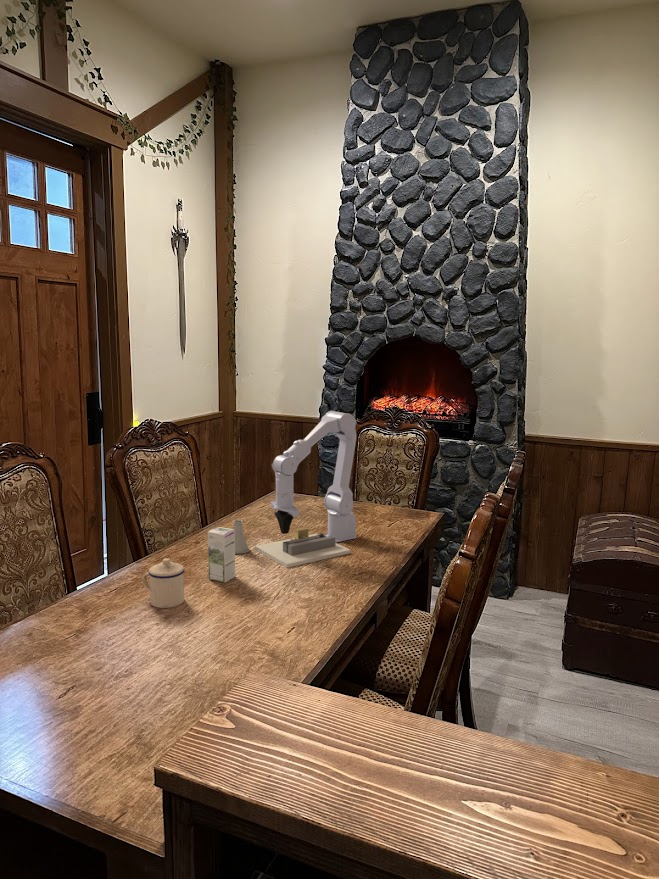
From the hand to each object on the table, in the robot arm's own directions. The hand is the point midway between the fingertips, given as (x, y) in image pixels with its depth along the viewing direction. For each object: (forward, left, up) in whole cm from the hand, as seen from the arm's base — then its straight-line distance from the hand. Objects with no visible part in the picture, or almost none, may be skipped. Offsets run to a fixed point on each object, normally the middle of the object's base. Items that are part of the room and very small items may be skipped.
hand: (284, 533), depth 209 cm
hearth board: (-4, +5, -6) cm, 8 cm away
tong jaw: (-4, +5, -4) cm, 8 cm away
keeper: (-7, -1, -4) cm, 8 cm away
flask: (+13, -7, -6) cm, 16 cm away
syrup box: (+28, +12, -6) cm, 31 cm away
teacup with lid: (+48, +18, -6) cm, 52 cm away
